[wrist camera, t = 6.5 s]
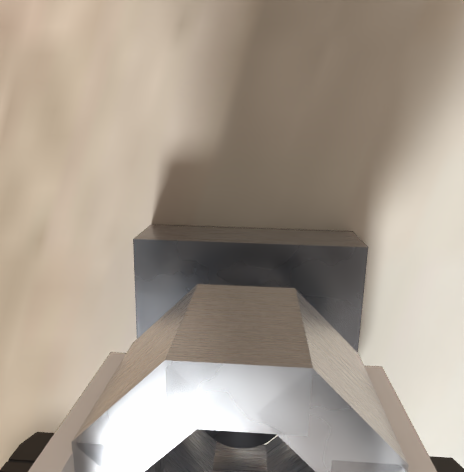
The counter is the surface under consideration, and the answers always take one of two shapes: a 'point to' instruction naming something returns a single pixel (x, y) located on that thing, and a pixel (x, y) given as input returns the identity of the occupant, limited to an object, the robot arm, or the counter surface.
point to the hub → (239, 393)
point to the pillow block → (251, 276)
